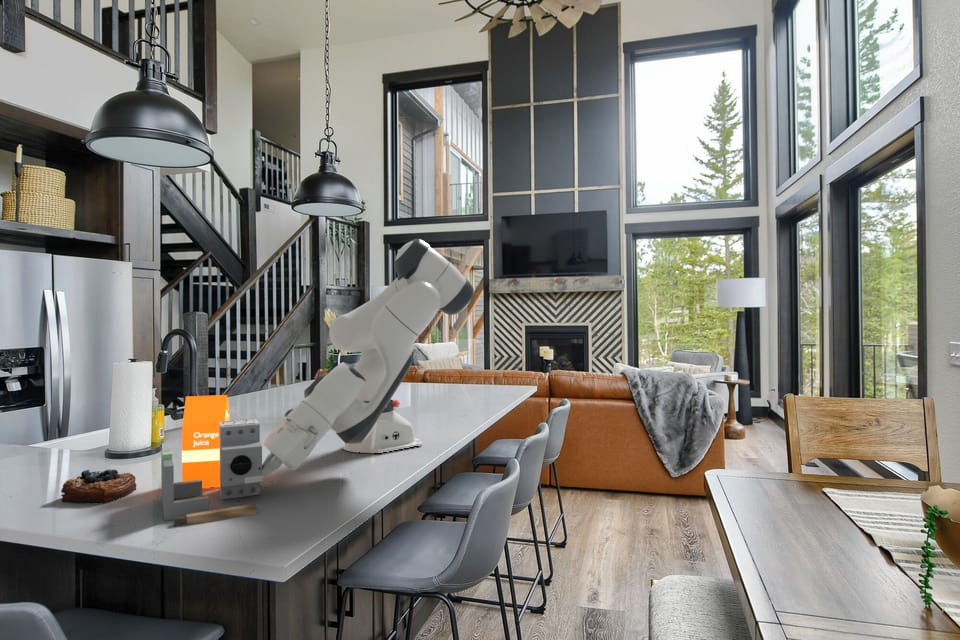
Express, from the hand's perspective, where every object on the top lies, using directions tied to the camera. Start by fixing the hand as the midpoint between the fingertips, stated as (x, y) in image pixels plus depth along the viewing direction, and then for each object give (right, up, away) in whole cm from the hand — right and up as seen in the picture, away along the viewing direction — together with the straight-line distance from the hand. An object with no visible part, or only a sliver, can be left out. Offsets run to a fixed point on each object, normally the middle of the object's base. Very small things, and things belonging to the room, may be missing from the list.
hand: (261, 474), depth 121 cm
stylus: (-2, -5, -14) cm, 14 cm away
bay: (-12, -4, -7) cm, 15 cm away
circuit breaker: (-4, -5, 0) cm, 6 cm away
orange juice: (-16, -5, +9) cm, 19 cm away
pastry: (-34, -5, 0) cm, 34 cm away
